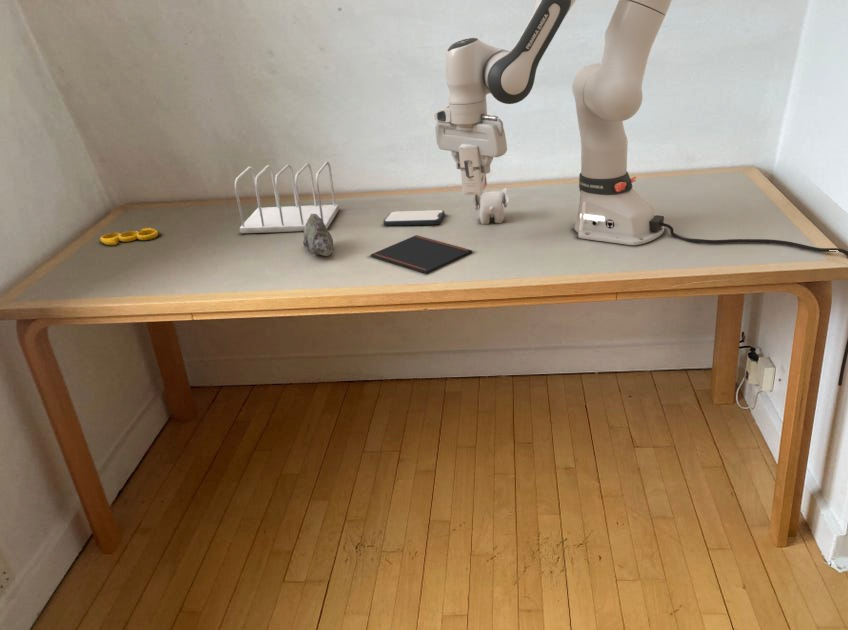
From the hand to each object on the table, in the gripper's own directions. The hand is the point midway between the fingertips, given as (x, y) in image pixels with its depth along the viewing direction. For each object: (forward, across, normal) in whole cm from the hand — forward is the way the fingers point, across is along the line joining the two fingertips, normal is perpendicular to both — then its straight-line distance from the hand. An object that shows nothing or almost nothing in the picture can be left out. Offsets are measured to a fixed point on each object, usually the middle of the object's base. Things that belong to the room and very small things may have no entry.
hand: (473, 170), depth 190 cm
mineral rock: (+17, +29, +30) cm, 45 cm away
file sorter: (+17, +56, +18) cm, 62 cm away
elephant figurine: (+18, +7, -14) cm, 24 cm away
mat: (+18, +5, +16) cm, 24 cm away
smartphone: (+18, +25, -2) cm, 31 cm away
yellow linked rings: (+16, +88, +53) cm, 104 cm away
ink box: (+5, 0, 0) cm, 5 cm away
